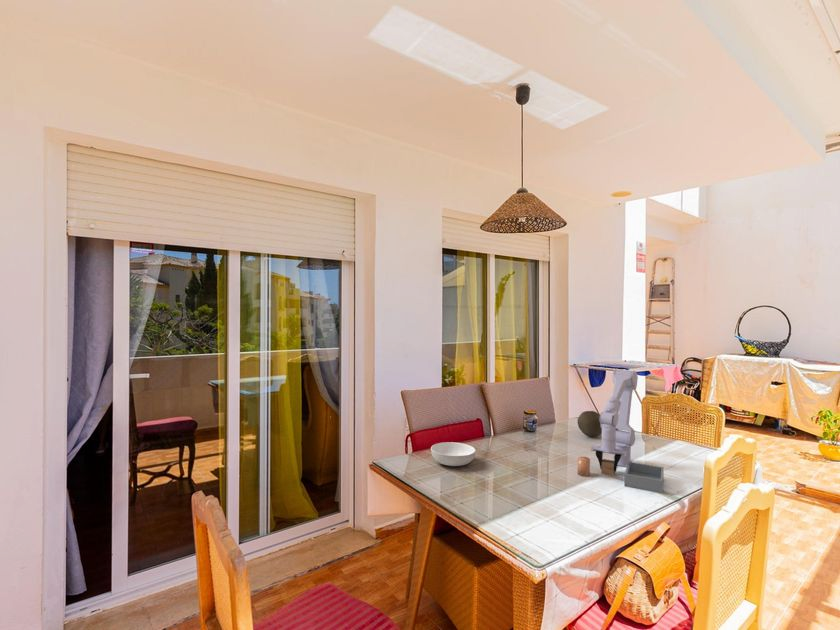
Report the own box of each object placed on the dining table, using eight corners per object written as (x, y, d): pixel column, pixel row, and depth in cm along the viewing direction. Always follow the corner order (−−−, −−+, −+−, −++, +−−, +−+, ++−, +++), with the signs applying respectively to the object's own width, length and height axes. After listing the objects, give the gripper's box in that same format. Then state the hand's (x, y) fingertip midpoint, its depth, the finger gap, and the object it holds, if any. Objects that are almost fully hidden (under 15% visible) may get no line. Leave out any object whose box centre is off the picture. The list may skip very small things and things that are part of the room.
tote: (628, 472, 191) (628, 461, 191) (663, 479, 184) (663, 467, 184) (624, 486, 176) (624, 473, 176) (662, 493, 169) (662, 480, 169)
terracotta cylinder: (578, 471, 192) (578, 455, 192) (590, 473, 189) (590, 457, 189) (576, 475, 188) (576, 459, 187) (588, 477, 185) (588, 461, 185)
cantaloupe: (585, 432, 256) (586, 407, 256) (608, 438, 245) (609, 411, 245) (572, 436, 247) (573, 410, 247) (596, 442, 236) (596, 415, 236)
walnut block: (602, 469, 194) (603, 458, 194) (615, 472, 192) (615, 460, 192) (601, 473, 190) (601, 462, 190) (613, 475, 187) (613, 464, 187)
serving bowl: (470, 473, 188) (470, 458, 188) (424, 467, 195) (425, 452, 195) (479, 458, 207) (479, 444, 207) (437, 453, 214) (438, 439, 214)
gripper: (589, 438, 191) (589, 469, 191) (625, 443, 183) (625, 475, 183) (592, 434, 197) (592, 464, 197) (627, 439, 190) (626, 470, 190)
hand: (608, 469), depth 191 cm, fingers closed on walnut block, 5 cm apart
